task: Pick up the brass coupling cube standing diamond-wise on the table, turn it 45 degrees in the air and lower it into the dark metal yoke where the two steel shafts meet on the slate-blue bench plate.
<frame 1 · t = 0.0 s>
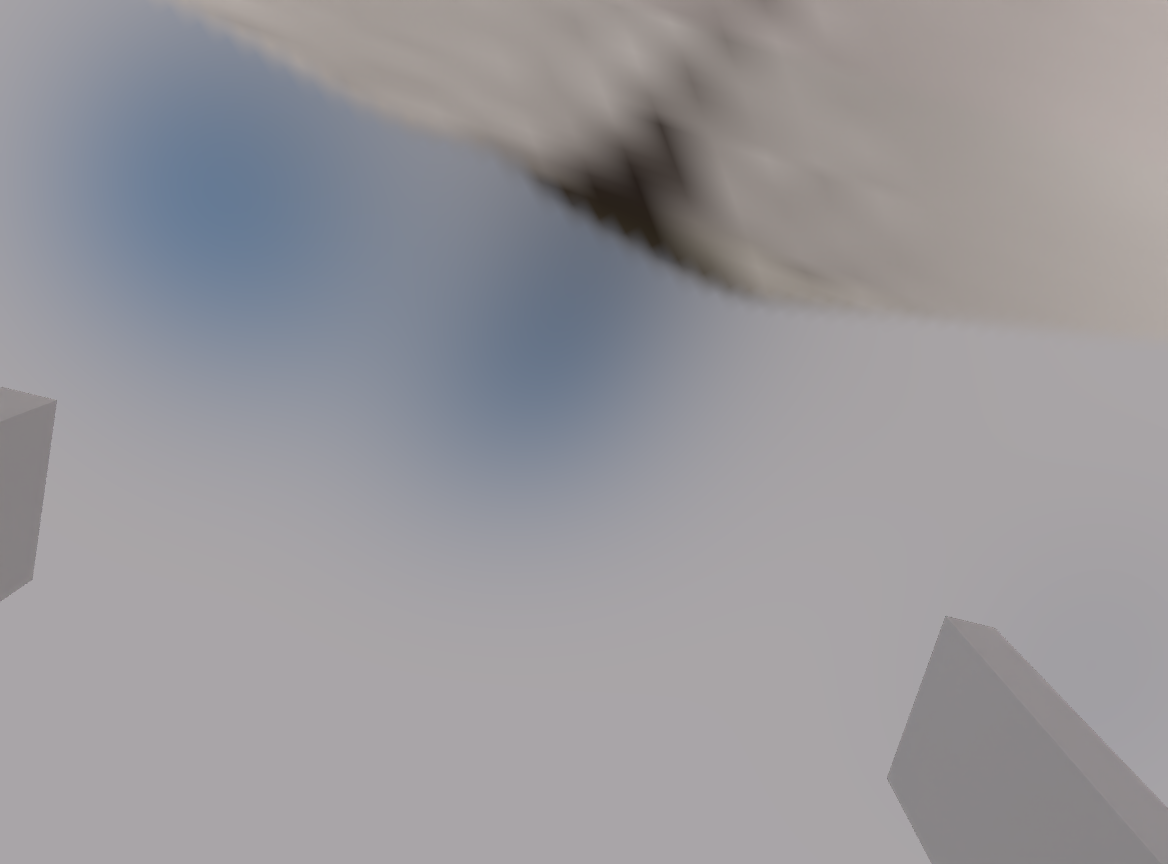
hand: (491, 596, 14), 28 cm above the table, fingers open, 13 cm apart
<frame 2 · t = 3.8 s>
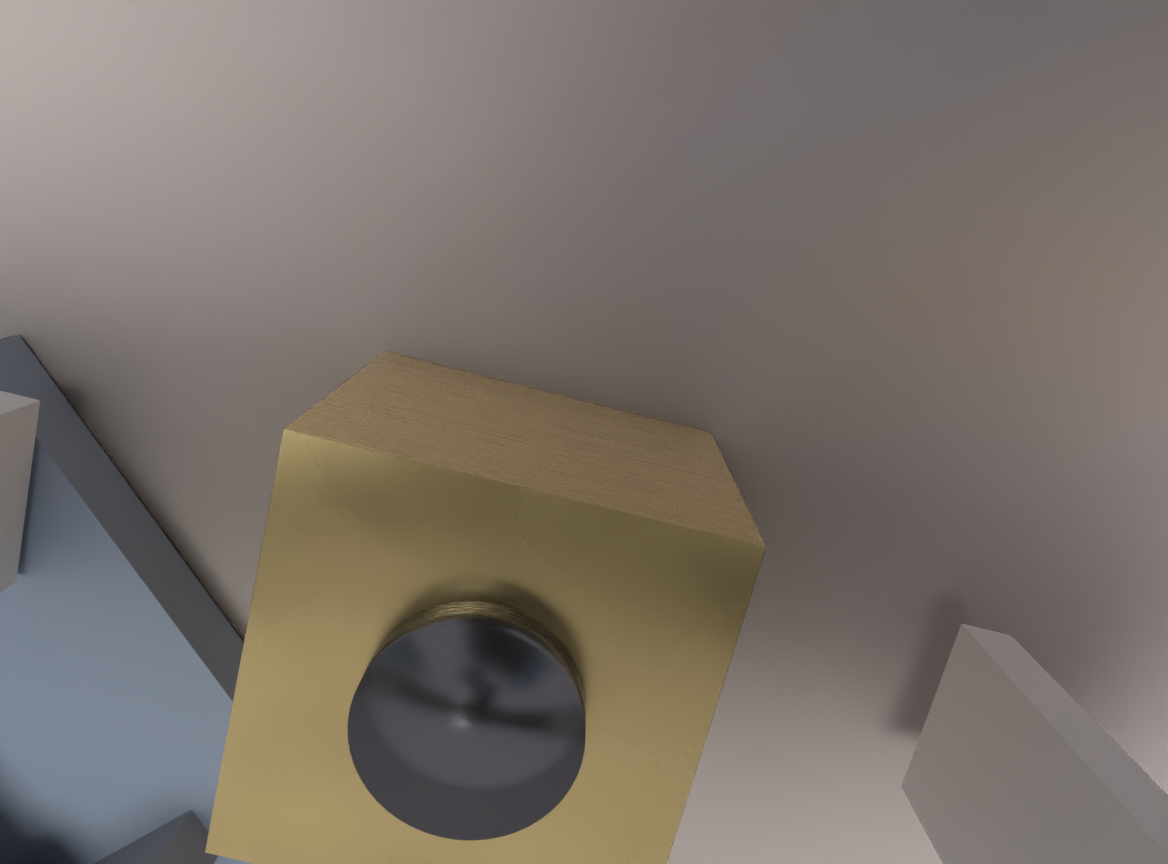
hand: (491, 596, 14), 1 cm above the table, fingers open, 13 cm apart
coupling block: (511, 544, 15), on the table
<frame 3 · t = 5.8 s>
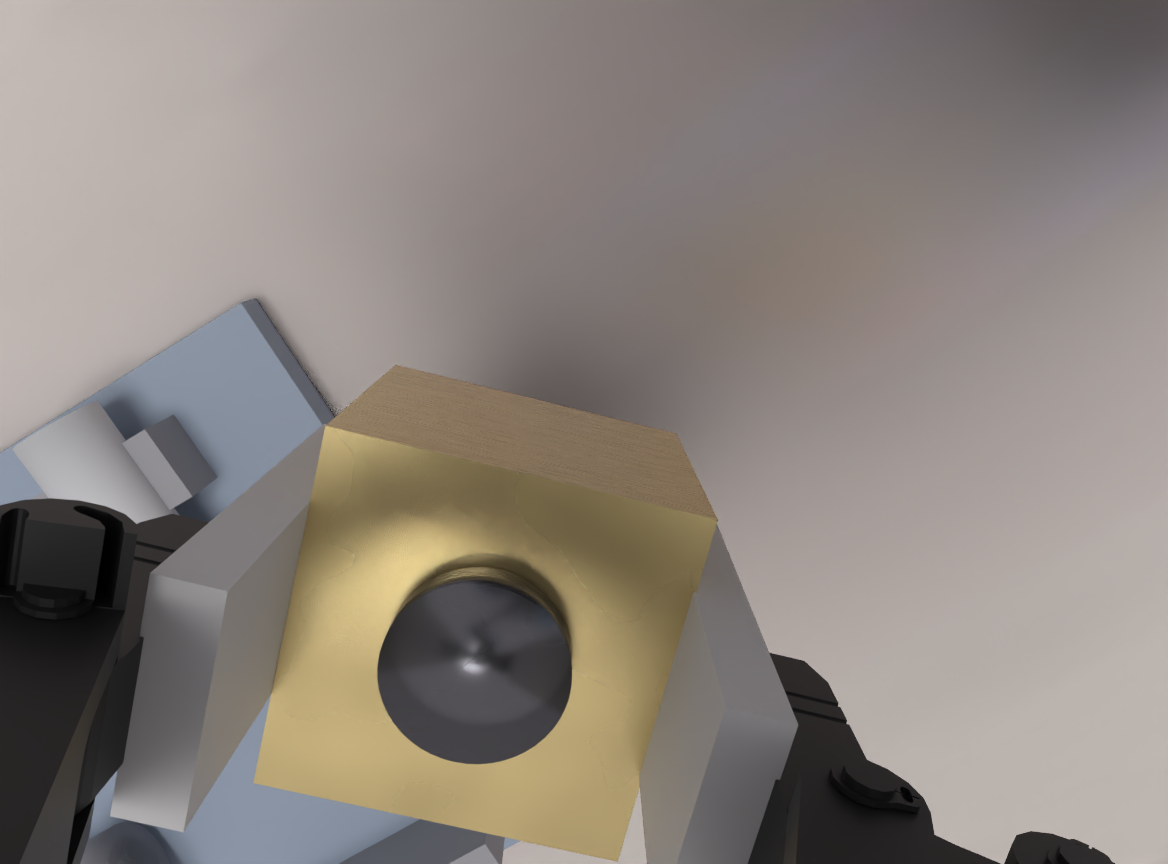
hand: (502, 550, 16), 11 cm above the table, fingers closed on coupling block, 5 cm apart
shaft bench: (197, 688, 29), on the table
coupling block: (504, 533, 18), point 10 cm above the table, touching gripper
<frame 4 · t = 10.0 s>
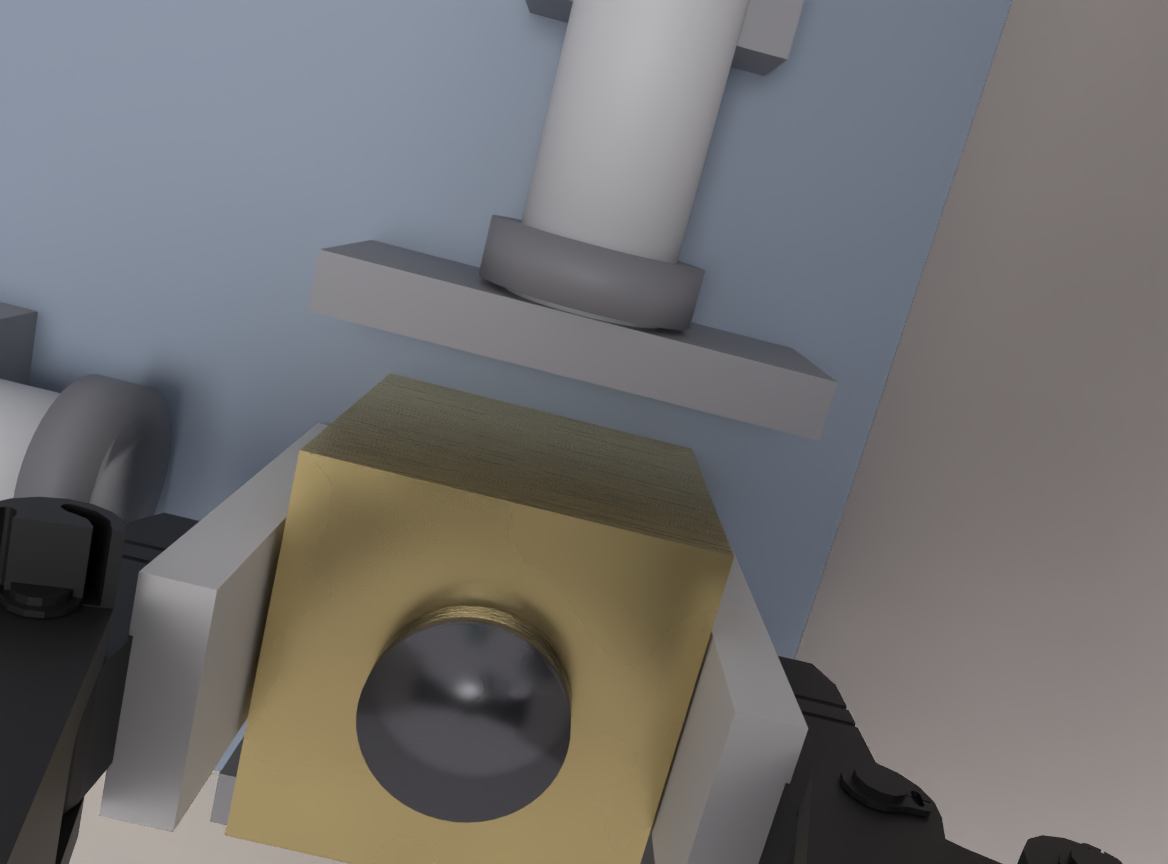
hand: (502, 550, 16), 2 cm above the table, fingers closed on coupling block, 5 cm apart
shaft bench: (396, 312, 17), on the table
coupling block: (506, 553, 17), point 1 cm above the table, touching gripper, shaft bench
when the fingers open (2 cm above the table, at t = 10.0 s): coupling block stays where it is, resting on shaft bench.
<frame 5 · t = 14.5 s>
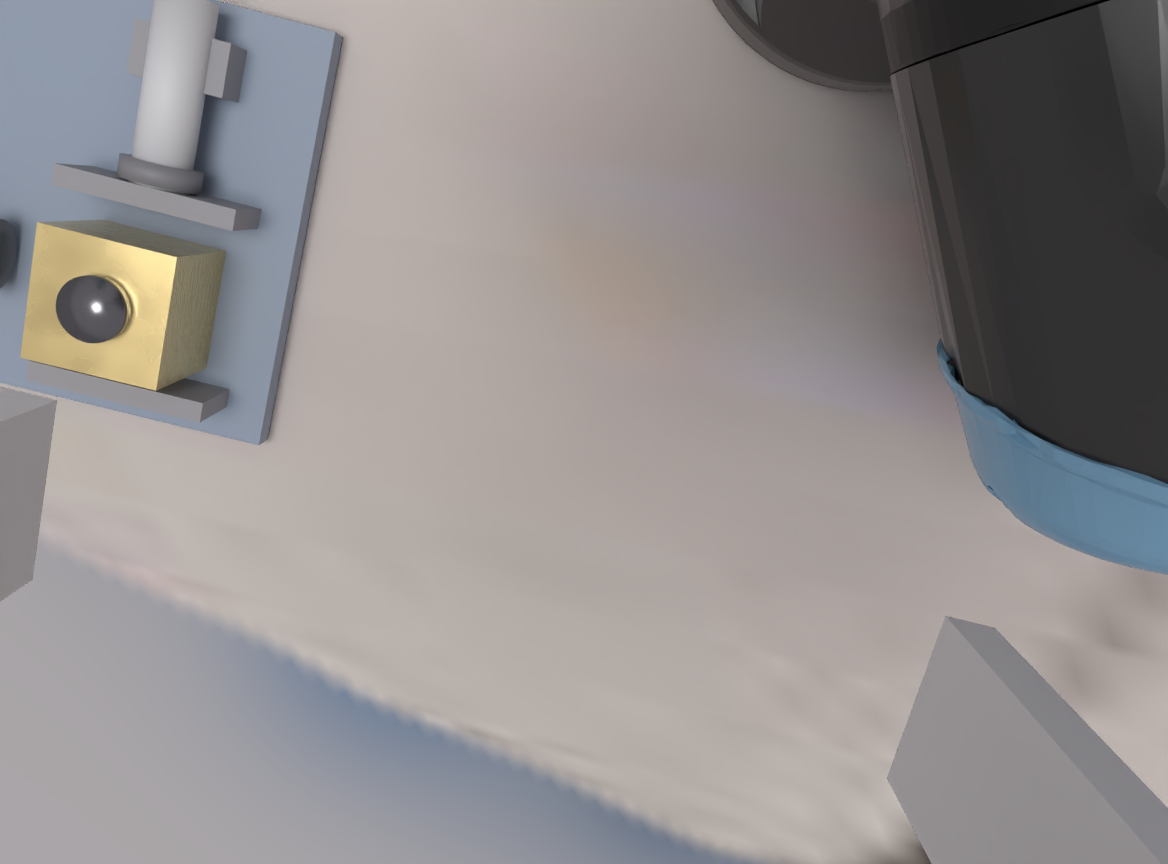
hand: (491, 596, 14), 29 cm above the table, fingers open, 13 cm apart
shaft bench: (112, 198, 41), on the table
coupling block: (156, 295, 41), point 1 cm above the table, touching shaft bench
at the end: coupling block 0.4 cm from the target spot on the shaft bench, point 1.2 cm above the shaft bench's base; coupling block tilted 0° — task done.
